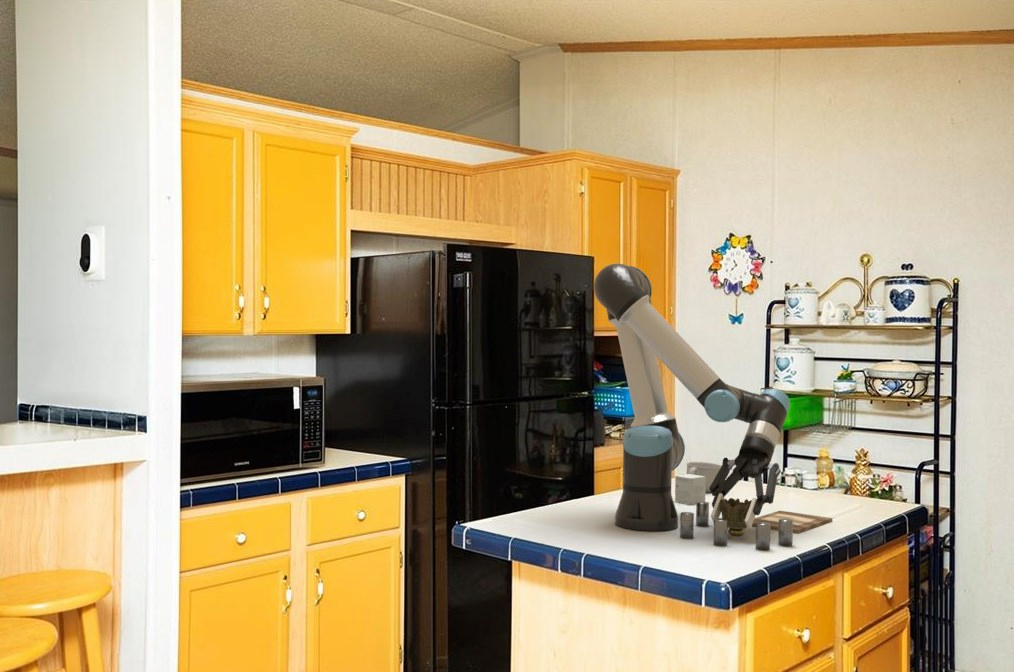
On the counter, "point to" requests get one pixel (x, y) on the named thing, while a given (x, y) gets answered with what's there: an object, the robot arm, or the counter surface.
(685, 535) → the spacer field
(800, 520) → the walnut pad
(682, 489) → the product box
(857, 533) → the counter surface
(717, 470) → the teacup
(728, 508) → the cup
